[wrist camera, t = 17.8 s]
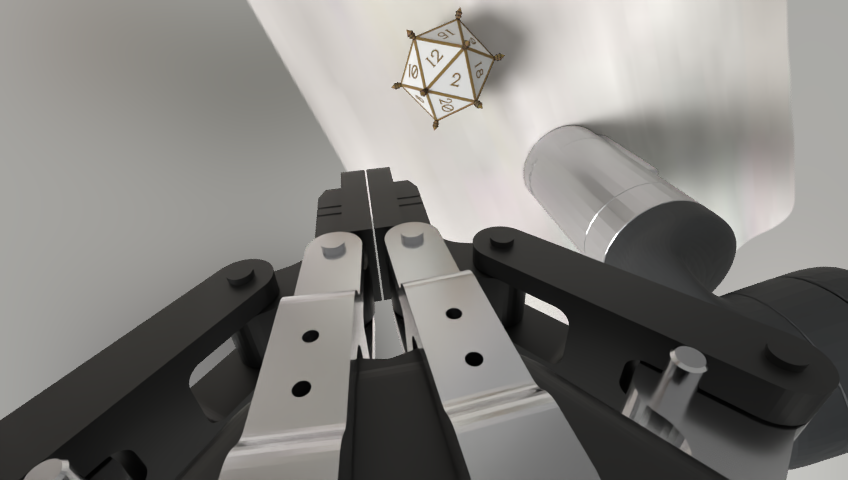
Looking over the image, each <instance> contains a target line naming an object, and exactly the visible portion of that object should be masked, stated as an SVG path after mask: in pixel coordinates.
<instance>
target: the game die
mask: <svg viewBox="0 0 848 480" xmlns="http://www.w3.org/2000/svg"><path fill="white" fill-rule="evenodd" d="M461 14H462V12H461V8H459V9H458V10H457V11H456V15H455V16H456V19H455V20H453V21H450V22H448V23H446V24H443V25H441V26H439V27H436V28H434V29H432V30H429V31H427V32H425V33H422V34H420V35H418V36H415V33H413V31H410V30H407V35H408V37H410V39H413V41H412V44H411V48H410V52H409V55H408V59H407V62H406V66H405V70H404V73H403V77H402V80H401V83H398V82H397V83H395V84H394V85H393V86H392V87H391V88H394V89H399V88H400V87H403V88H404V89H405V90H406V91H407V92H408V93H409V94H410V95H411V96H412V97H413V98H414V99H415V100H416V101H417V102H418V103H419V104H420V105H421V106H422V107H423V108H424V109H425V110H426V111H427V112H428V113H429V114H430V115H431V116H432V117H433V119H434V120H435V121H434V122H433V123H434V124H433V128H434V130H435V129H436V128H437V127H439V126H438V121H439V120H441V119H443V118H445V117H447V116H449V115H451V114H454V113H456V112H458V111H460V110H462V109H464V108H466V107H468V106H470V105H473V104H474V105H475V107H476V108H482V102H480V101H478V98H479V96H480V93H481V91H482V89H483V86H484V84H485V82H486V79H487V77H488V74H489V72H490V70H491V67H492V65H493V63H494V61H495V60H497V61H498V60H501V59H502V58H503V57H504V56H505V55H503V54H500V53H499V54H498V55H497V54H496V56H493V55H492V54H491V53H490V52H489V51H488V50H487V49H486V48H485V47H484V46H483V45H482V43H481V42H480V41H479V40H478V39H477V38H476V37H475V36H474V35H473V34H472V33H471V32H470V31H469V29H468V28H467V27H466V26H465V25H464V24H463V23H462V22H461V21H460V18H461ZM482 109H483V108H482Z"/></svg>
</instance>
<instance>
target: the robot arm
mask: <svg viewBox="0 0 848 480" xmlns="http://www.w3.org/2000/svg"><path fill="white" fill-rule="evenodd" d="M366 171H367V178H368V185H369V193H370V200H371V207H372V215H373V222H374V229H375V237H376V244H377V251H378V259H379V266H380V273H381V280H382V288H383V294H384V300H387V299H392V304H393V312H394V320H395V325H396V328H397V332H398V336H399V340H400V343H401V347H402V350H403V354H401V355H399V356H396V357H393V358H390V359H375V321H374V313H375V303H374V302H375V301H381V300H382V298H381V291H380V283H379V275H378V268H377V260H376V252H375V245H374V237H373V229H372V222H371V215H370V207H369V200H368V193H367V186H366V179H365V172H364V170H360V171H351V172H343V173H341V188H339V189H331V190H326V191H325V192H324V193H323V194H322V195H321V196H320V197H319V199H318V210H317V221H316V234H315V239H314V240H312V241H311V242H310V243H309V244H308V245H307V247H306V249H305V252H304V257H303V260H302V261H300V262H298V263H296V264H294V265H292V266H289V267H286V268H283V269H280V270H277V271H275V272H274V270H273V267H272V265H271V264H270V263H268V262H266V261H264V260H260V259H248V260H242V261H238V262H235V263H232V264H230V265H228V266H226V267H224V268H222V269H221V270H219V271H218V272H216V273H215V274H213V275H212V276H211V277H209V278H208V279H206V280H205V281H203V282H202V283H200V284H199V285H197V286H196V287H194V288H193V289H192V290H190V291H189V292H187V293H186V294H184V295H183V296H181V297H180V298H178V299H177V300H175V301H174V302H173V303H171V304H170V305H168V306H167V307H165V308H164V309H162V310H161V311H159V312H158V313H156V314H155V315H154V316H152V317H151V318H150V319H148V320H146V321H145V322H143V323H142V324H140V325H139V326H137V327H136V328H135V329H133V330H132V331H130V332H129V333H127V334H126V335H124V336H123V337H121V338H120V339H118V340H117V341H116V342H114V343H113V344H111V345H110V346H108V347H107V348H105V349H104V350H102V351H101V352H100V353H98V354H97V355H95V356H94V357H92V358H91V359H89V360H88V361H86V362H85V363H83V364H82V365H80V366H79V367H78V368H76V369H75V370H73V371H72V372H70V373H69V374H67V375H66V376H64V377H63V378H62V379H60V380H59V381H57V382H56V383H54V384H53V385H51V386H50V387H48V388H47V389H45V390H44V391H43V392H41V393H40V394H38V395H37V396H35V397H34V398H32V399H31V400H29V401H28V402H26V403H25V404H24V405H22V406H21V407H19V408H18V409H16V410H15V411H13V412H12V413H10V414H9V415H8V416H6V417H4V418H3V419H2V420H0V480H786V478H787V473H788V470H789V469H796V468H800V467H804V466H807V465H811V464H814V463H817V462H820V461H823V460H826V459H830V458H833V457H836V456H839V455H842V454H845V453H848V270H845V269H841V268H836V267H816V268H808V269H803V270H799V271H795V272H791V273H788V274H785V275H782V276H779V277H776V278H773V279H769V280H766V281H764V282H761V283H757V284H755V285H752V286H748V287H746V288H743V289H740V290H737V291H734V292H731V293H728V294H725V295H722V296H720V297H718V296H716V295H714V294H713V293H712V292H713V291H714V289H716V287H717V286H718V285H719V284H720V283H721V282H722V280H723V279H724V278H725V276H726V274H727V273H728V271H729V269H730V267H731V265H732V263H733V260H734V257H735V253H736V238H735V235H734V232H733V230H732V229H731V227H730V226H729V225H728V224H727V223H726V222H725V221H724V220H723V219H722V218H721V217H719V216H718V215H716V214H715V213H714V212H712V211H711V210H709V209H708V208H706V207H705V206H703V205H701V204H700V203H698V202H697V201H695V200H694V199H692V198H691V197H689V196H688V195H686V194H685V193H683V192H682V191H680V190H679V189H677V188H675V187H674V186H672V185H671V184H669V183H668V182H666V181H665V180H663V179H662V178H660V177H659V176H658V171H657V169H656V168H655V167H653V166H652V165H650V164H648V163H647V162H645V161H644V160H642V159H641V158H639V157H638V156H636V155H635V154H633V153H631V152H630V151H628V150H627V149H625V148H624V147H622V146H621V145H619V144H617V143H616V142H614V141H613V140H611V139H610V138H608V137H607V136H605V135H600V136H599V135H596V134H595V133H593V132H592V131H590V130H589V129H586V128H584V127H581V126H564V127H561V128H558V129H555V130H553V131H551V132H549V133H548V134H546V135H545V136H544V137H542V138H541V139H540V140H539V141H538V142H537V143H536V144H535V145H534V147H533V148H532V150H531V151H530V153H529V155H528V157H527V159H526V162H525V167H524V180H525V184H526V186H527V188H528V190H529V192H530V193H531V194H532V195H533V196H534V198H535V199H536V200H537V201H538V202H539V204H540V205H541V206H542V207H543V208H544V210H545V211H546V212H547V213H548V214H549V216H550V217H551V218H552V219H553V220H554V222H555V223H556V224H557V225H558V226H559V228H560V229H561V230H562V231H563V232H564V234H565V235H566V236H567V237H568V238H569V239H570V241H571V242H572V243H573V244H574V245H575V247H576V248H577V249H578V250H579V251H580V253H581V254H580V253H577V252H575V251H572V250H569V249H567V248H564V247H561V246H559V245H556V244H554V243H551V242H548V241H546V240H543V239H541V238H538V237H535V236H533V235H530V234H527V233H525V232H522V231H520V230H517V229H514V228H510V227H490V228H486V229H484V230H481V231H480V232H478V233H477V234H476V235H475V236H474V238H473V243H458V242H452V241H448V240H445V239H443V238H442V236H441V235H440V233H439V231H438V230H437V229H436V228H435V227H434V226H432V225H431V224H430V222H429V219H428V216H427V213H426V210H425V207H424V205H423V202H422V199H421V197H420V193H419V191H418V188H417V186H415V185H414V184H413V183H411V182H410V181H408V180H406V181H397V182H393V179H392V175H391V172H390V168H389V167H385V168H376V169H368V170H366ZM526 293H527V294H530V295H532V296H534V297H536V298H538V299H540V300H542V301H544V302H546V303H548V304H551V305H553V306H555V307H557V308H558V309H560V310H561V311H562V312H563V313H564V314H565V315H566V317H567V319H568V321H569V326H568V325H566V324H564V323H562V322H560V321H558V320H556V319H554V318H552V317H550V316H548V315H546V314H544V313H542V312H540V311H538V310H536V309H534V308H532V307H530V306H528V305H526V304H525V295H526ZM230 337H232V340H233V342H234V344H235V347H236V349H235V350H233V351H232V352H231V353H230V354H229V355H228V356H227V357H225V358H224V359H223V360H222V361H221V362H220V363H219V364H217V365H216V366H215V367H214V368H213V369H212V370H211V371H209V372H208V373H207V374H206V375H205V376H204V377H203V378H201V379H200V380H199V381H198V382H197V383H196V384H195V385H194V386H192V387H191V388H190V387H189V379H190V376H191V374H192V372H193V370H194V369H195V367H196V366H197V365H198V364H199V363H200V362H201V361H203V360H204V359H205V358H206V357H207V356H209V355H210V354H211V353H212V352H213V351H214V350H216V349H217V348H218V347H219V346H220V345H221V344H223V343H224V342H225V341H226V340H228V339H229V338H230Z"/></svg>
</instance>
